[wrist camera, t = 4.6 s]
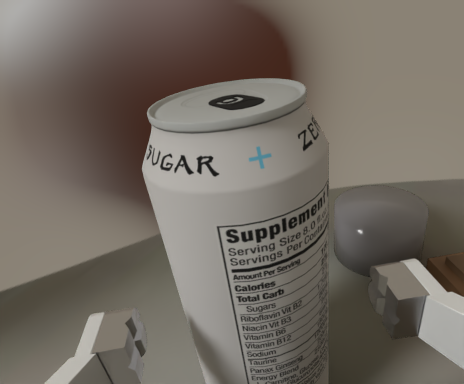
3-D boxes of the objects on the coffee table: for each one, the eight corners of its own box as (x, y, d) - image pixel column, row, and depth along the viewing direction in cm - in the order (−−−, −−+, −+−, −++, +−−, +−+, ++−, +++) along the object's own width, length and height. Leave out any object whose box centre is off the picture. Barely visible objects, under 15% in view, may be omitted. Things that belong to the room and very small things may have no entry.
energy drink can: (273, 318, 21) (244, 70, 14) (354, 393, 16) (375, 81, 9) (191, 379, 18) (101, 109, 11) (260, 488, 14) (185, 152, 6)
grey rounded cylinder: (322, 263, 25) (321, 219, 23) (348, 221, 29) (349, 180, 27) (411, 290, 21) (420, 241, 19) (426, 238, 25) (434, 193, 24)
